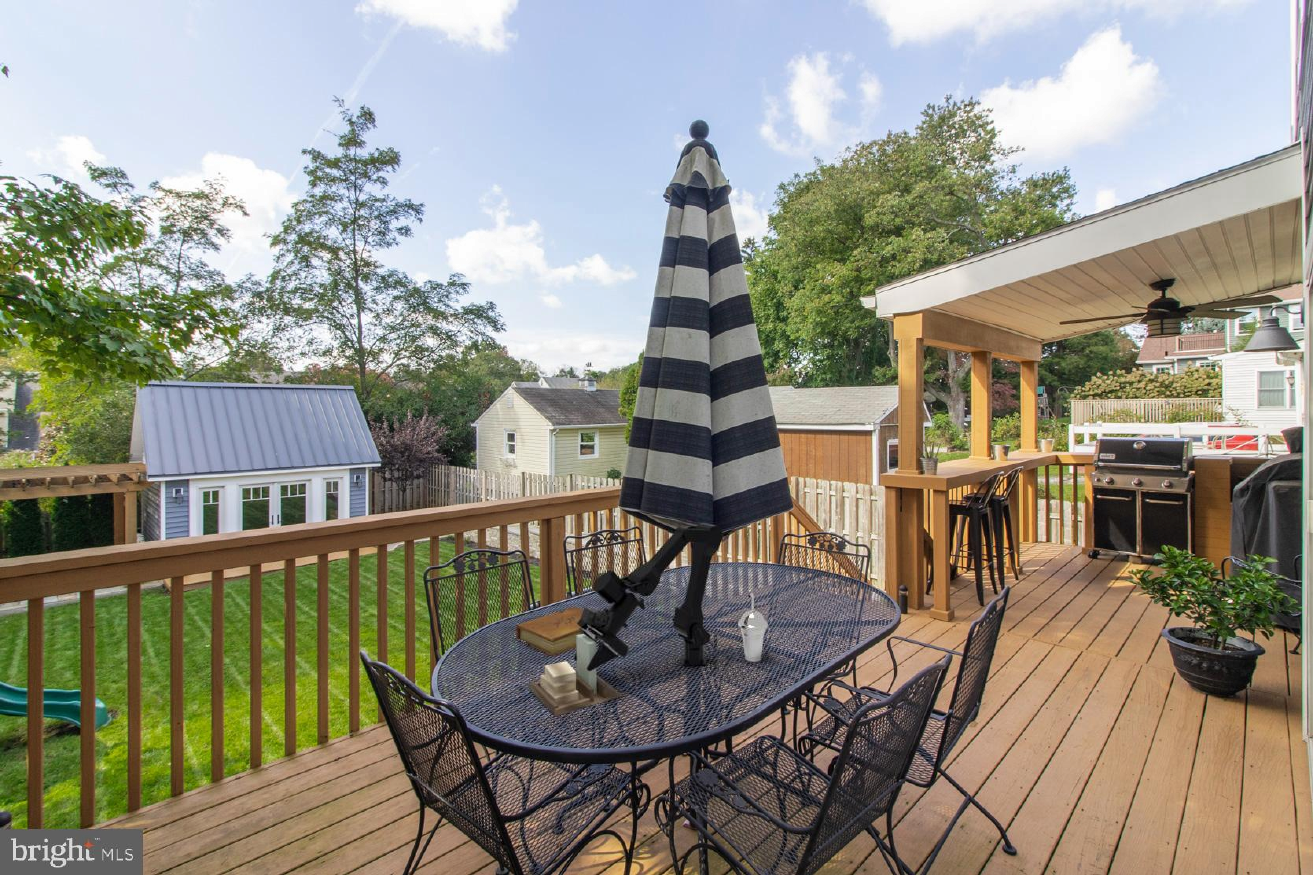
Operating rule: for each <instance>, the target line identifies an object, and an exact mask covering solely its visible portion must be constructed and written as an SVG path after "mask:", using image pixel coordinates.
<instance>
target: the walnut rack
mask: <svg viewBox="0 0 1313 875" xmlns="http://www.w3.org/2000/svg"><path fill="white" fill-rule="evenodd" d="M596 682H597V694H594V689H593V688H592V687H591V686H590V685H588V684H587V683H586V682H585V681H584V680H582V679H581V678H580V677H579V676H578V675H577V674H576V690H577V691H578V701H576V702H573V703H569V704H566V705H563V706H558V705H557V704H556V703H555V702H554V701H553V700H552V699H551V698H550V697H549V696H548V695H547V694H546V693H545V692H544V691H543V690H542V689H541V685H540V680H539V681H532V682H530V683H529V691H530V692H531V693H532V694H533V695H534V696H535V697H536V698H537V699H538V700H539V701H540V702H541V703H542V704H543V705H544V706H545V707H546V709H548V710H549V711H550V713H551V714H552V715H553V716H554V717H559V716H562V715H565V714H568V713H572V712H575V711H578V710H581V709H585V708H588V707H592V706H594V705H597V704H600V703H603V702H608V701H610V700H614V699H617V698H621V697H624V695H623V694H622V693H620V692H619V691H618V690H616V689H615V688H614V687H613V686H611V685H610V684H609V683H607V682H606V681H605V680H604V679H602V678H601V677H600V676H599V675H597V674H596Z"/></svg>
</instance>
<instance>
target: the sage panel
mask: <svg viewBox="0 0 1313 875" xmlns="http://www.w3.org/2000/svg"><path fill="white" fill-rule="evenodd" d="M576 639H577V647H576V651H577V661H576V675H578V676H579V677H580V678H581V679H582V680H584V681H585V682H586V683H587V684H588V685H590V686H591V687H592V688H593V689H594V694H597V682H596V675H597V668H595V669H593V670H592V671H588V670H587V667H588V665H589V663H590V661H591V660H592V658H593V657H594V655H595V653H596V652H597V644H596V642H595V641H593V640H592V639H590V638H589V637H587V636H586V635H585V634H580V635H576Z"/></svg>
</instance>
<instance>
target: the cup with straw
mask: <svg viewBox="0 0 1313 875" xmlns="http://www.w3.org/2000/svg"><path fill="white" fill-rule="evenodd" d="M747 597H748V598H751V600H750V601H751V602H750V604H751V606H750V608H751V609H750V610H747V611H745V612H744V613H743V614H742V616H741V617H740V619H739V620H738V623H737V625H738V627H739V628H740V631H741V635H742V644H743V652H744V653H743V654H744V659H745V660H746V661H748V662H753V663H755V662H760V661H761V660H762V652H763V645H764V644H763V643H764V636H765V632H766V629H767V628H768V627H769V624H768V622H767V621H766V620H765V617H764V616H763V614H762V612H759V611H758V610H755V608H754V606H755V605H754V604H755V603H754V601H755V600H754V599H755V598H754V593H753V592H751V593H750V594H748V595H747Z"/></svg>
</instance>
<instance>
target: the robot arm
mask: <svg viewBox="0 0 1313 875" xmlns="http://www.w3.org/2000/svg"><path fill="white" fill-rule="evenodd" d="M723 537H724V533H723V531H722V529H721V527H720V526H719V525H714V524H710V523H705V522H700V523H698V524H697V525H687V526H683V525H681V526H680V525H679V526H678V527H676V528H675V530H674V532H673V534H672V535H671V536H670V537H669V538H668V539H667V540H666V541H665V542H664V543H663V544H662V546H661V547H660V548H659V549H658V550H657V552H655V554H654V555H653V556H652V557H651V558H650V559H648V561H646V562H645V563H642V564H640V565H639V566H637V567H636V568H635V569H634V570H632V571H631V572H629V574H628V575H626V576H624V577H619V576H618V575H617V573H616V572H615V571H614V570H611V569H608V570H607V572H604V573H603V574H601V575H599V576H598V577H596V579H595V580H594V582H593V585H592V591H594V592H595V593H596V594H597V595H598V596H599V597H601V599H603V601H605V602H606V603H607V604H611V605H610V607H609V608H606V607H605V608H603V609H602V610H600V609H598V610H597V609H593V608H590V607H586V606H584V608H583V613H582V615H581V618H580V620H579V621H578V623H577V624H578V625H579V626H580V627H581V628H582V629H581V628H579V630H580V633H581V634H585V635H586V636H587V637H589V638H590V639H592V640H593V641H595V642H596V645H597V646H598V647H597V648H598V649H596V653H595V655H594V657H593V658H592V660H591V661H590V663H589V665H588V667H587V670H588V671H592V670H593V669H595V668H596V669H597V668H599V667H600V666H602V665H604V664H605V663H607V662H609V661H611V660H614V659H618V658H619V657H621V658H623V659H625V658H626V656H627V655H628V654H629V651H630V650H629V649H630V648H629V646H628V645H627V644H626V643H625V642H624V641H623V640H622V639H620V638H619V637H618V635H619V633H620V632H621V631H622V629H623V628H624V629H627V628H628V626H629V625H628V624H627V622H628V621H629V619H630V618H631V617H632V615H633V614H634V613H635V611H636V609H637V608H638V609H640V610H643V611H645V609H646V608H645V599H644V598H642V597H649V596H651V595H652V594H653V593H654V592H655V591H656V589H657V587H658V586H659V584H660V582H661V577H662V575H663V574H664V572H665V571H666V569H667V568H668V567H669V566H670V565H671V564H672V563H673V561H674V560H675V559H676V558H677V557H678V556H679V554H681V552H682V551H683V550H684V549H685V548H686V547H687V545H688V544H689V543H692V545H693V546H692V547H693V549H694V556H693V561H692V566H691V569H690V570H691V571H690V575H689V579H688V583H687V584H688V585H687V588H686V593H685V597H684V601H683V604H682V605H680V607H678V606H676V607H675V609H674V615H673V618H672V619H671V621H672V622H673V625H672V626H673V628H674V631H675V632H677V635H678V637H679V638H681V639H683V654H681V660H682V665H683V666H706V665H707V661H706V657H705V654H704V653H705V649H704V648H705V647H704V646H705V645H706V644H709V643H710V641H711V636H712V635H711V633H710V632H708V630H706V629H705V628H704V623H705V622H704V621H705V620H704V613H703V608H702V604H703V600H704V596H705V595H704V594H705V591H706V586H707V582H708V577H709V572H710V567H711V563H712V558H713V556H714V555H715V554H716V552H717V551H718V550H719V549H720V547H721V543H722V541H723ZM626 590H627V591H629V592H627V591H626ZM635 594H637V595H639V596H642V597H639V596H638V597H637V595H635ZM594 638H595V639H598V638H600V639H598V640H594ZM600 640H601V641H600ZM602 641H603V642H602ZM573 660H574V661H576V662H577V650H576V652H575V654H574V657H573Z"/></svg>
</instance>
